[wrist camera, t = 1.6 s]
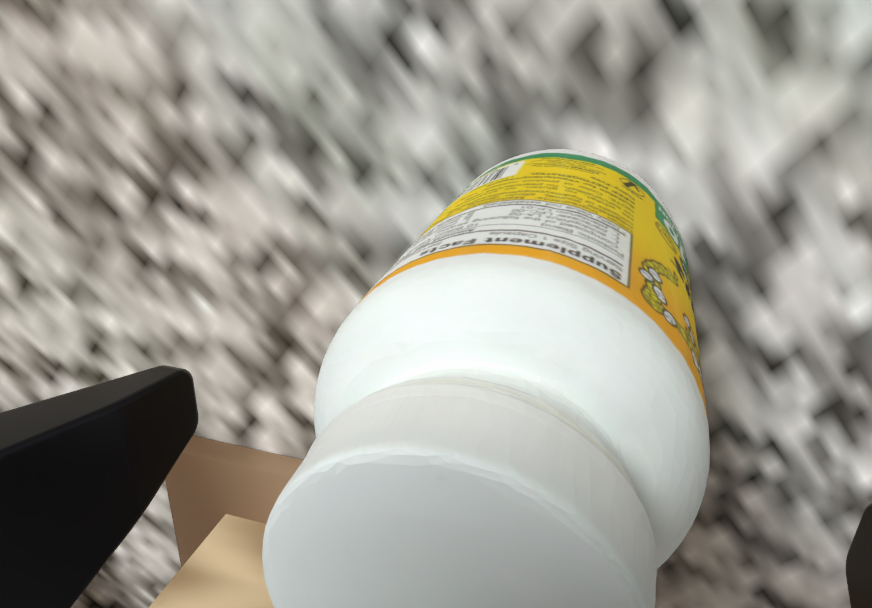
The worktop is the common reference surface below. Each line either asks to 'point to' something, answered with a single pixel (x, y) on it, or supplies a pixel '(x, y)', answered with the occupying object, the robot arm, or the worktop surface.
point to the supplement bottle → (507, 408)
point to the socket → (222, 523)
